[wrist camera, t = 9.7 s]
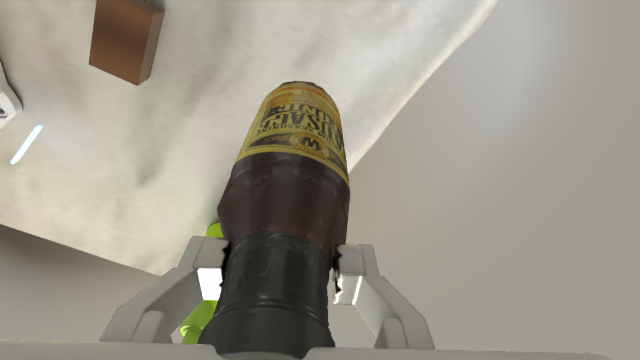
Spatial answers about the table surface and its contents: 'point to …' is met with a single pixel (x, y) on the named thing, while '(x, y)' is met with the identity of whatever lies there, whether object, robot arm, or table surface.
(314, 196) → the sauce bottle
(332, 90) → the table surface
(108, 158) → the table surface
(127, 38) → the plywood offcut
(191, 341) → the lime green necked cylinder
